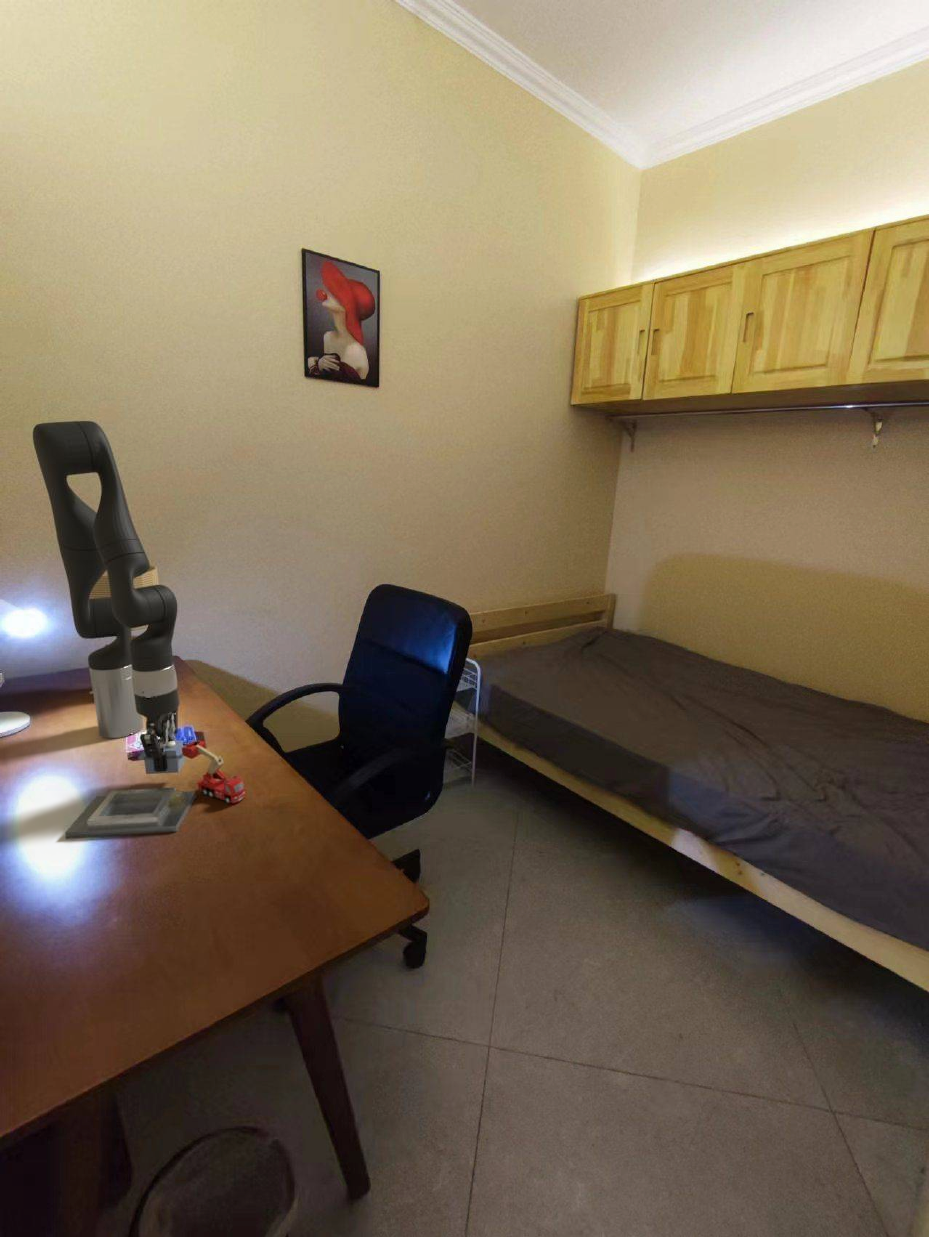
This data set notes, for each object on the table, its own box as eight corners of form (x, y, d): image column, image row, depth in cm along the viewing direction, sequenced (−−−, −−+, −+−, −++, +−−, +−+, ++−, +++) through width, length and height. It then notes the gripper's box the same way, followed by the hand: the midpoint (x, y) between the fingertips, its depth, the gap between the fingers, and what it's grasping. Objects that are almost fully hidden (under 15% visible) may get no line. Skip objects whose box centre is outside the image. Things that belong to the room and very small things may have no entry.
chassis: (97, 801, 105) (95, 789, 104) (196, 796, 107) (195, 784, 107) (66, 838, 94) (63, 825, 93) (176, 831, 97) (175, 818, 96)
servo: (148, 763, 112) (145, 739, 111) (189, 761, 113) (187, 737, 112) (140, 774, 108) (137, 749, 107) (183, 772, 110) (180, 747, 108)
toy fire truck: (234, 806, 105) (231, 761, 102) (185, 787, 110) (180, 745, 108) (248, 797, 108) (244, 754, 105) (199, 779, 113) (194, 738, 111)
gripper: (149, 673, 112) (158, 747, 117) (118, 703, 99) (130, 785, 103) (187, 673, 113) (195, 746, 118) (163, 701, 100) (173, 783, 105)
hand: (165, 764), depth 111 cm, fingers closed on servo, 4 cm apart
